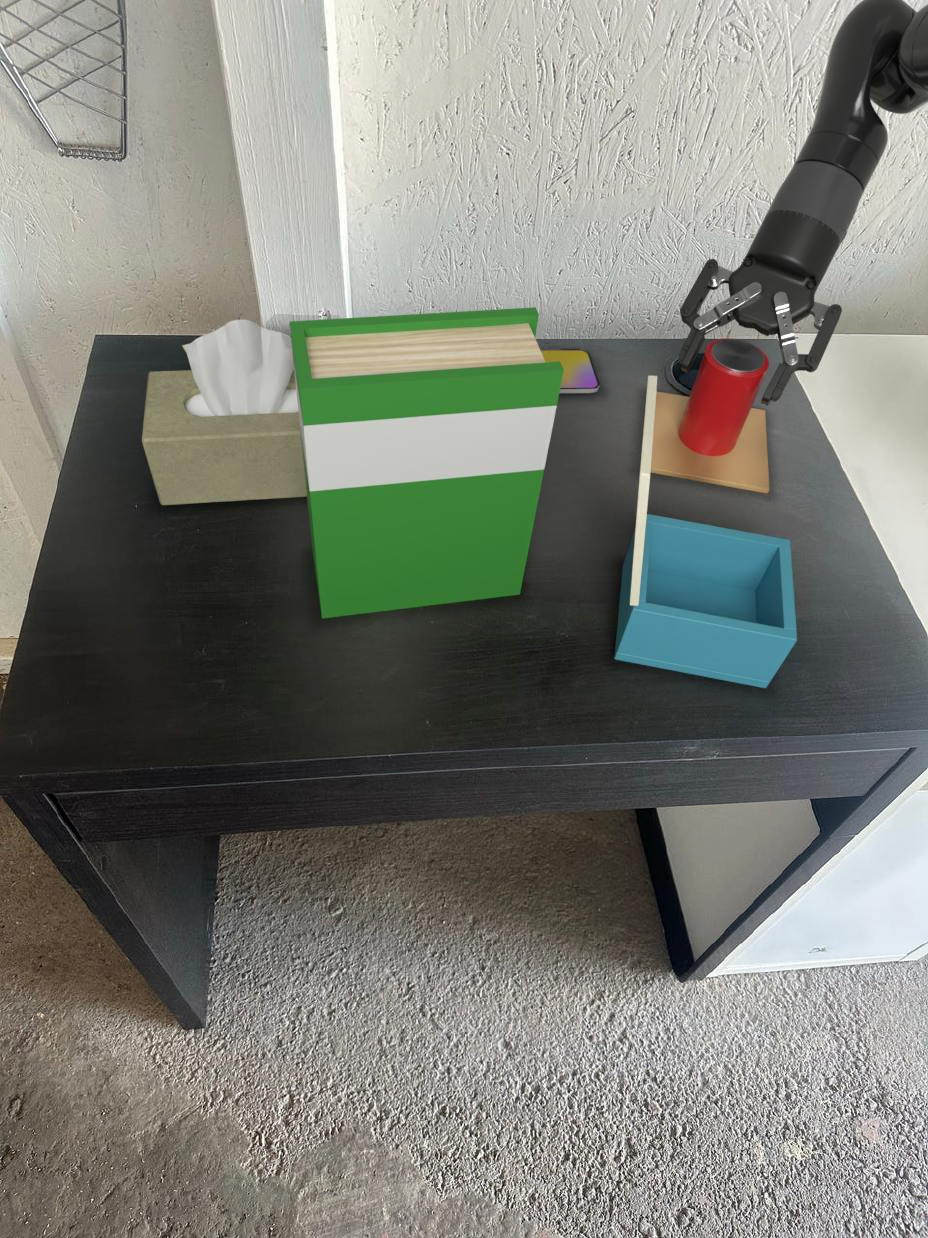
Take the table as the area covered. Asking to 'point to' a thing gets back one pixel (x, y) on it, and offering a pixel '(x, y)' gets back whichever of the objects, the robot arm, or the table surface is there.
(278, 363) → the tissue box
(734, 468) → the cork mat
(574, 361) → the smartphone
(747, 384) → the drinks can
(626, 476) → the table surface
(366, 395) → the hardback book
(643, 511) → the lid
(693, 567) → the teal open box
